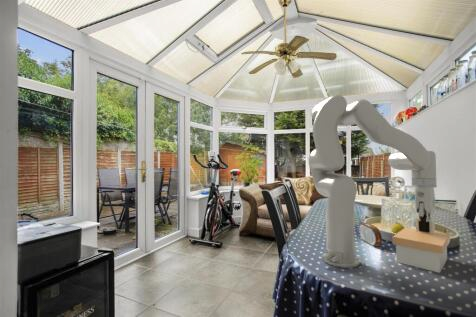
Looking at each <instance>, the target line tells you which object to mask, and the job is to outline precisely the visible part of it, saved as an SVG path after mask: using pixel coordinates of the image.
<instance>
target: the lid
mask: <svg viewBox="0 0 476 317" xmlns="http://www.w3.org/2000/svg"><path fill="white" fill-rule="evenodd" d="M414 220H415V221H414V222H415V228H410V227H404V229H403V230H401V231H400V232H398V233H397V234H395V235H394V236H393V235H392V238H391V239H392V240H391V241H392V242H391V243H392V244H393V245H396V244H397V245H402V246H407V247H412V248H416V249H421V250H426V251H431V252H436V253H440V254H443V252H444V251H445V249H446V247H447V248H448V246H449V244H450V243H451V234H449V233H448V234H447V233H441V232H436V224H435V219H431V220H430V219H428V222H429V226H430V232H429V233H427V232H421V231H419V217H415V219H414Z"/></svg>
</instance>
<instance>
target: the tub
mask: <svg viewBox="0 0 476 317" xmlns="http://www.w3.org/2000/svg"><path fill="white" fill-rule="evenodd" d="M395 253H396V254H395V258H396V262H397V263H399V264H404V265H406V266H407V265H408V266H411V267H415V268H419V269H422V270H425V271H431V272H435V273H439V274H440V273H441V272H442V270H443V268H444V266H445V265H446V262H447V260H448V246H447V247H446V249H445V251H444V252H443V254H440V253H436V252H431V251H426V250H421V249H416V248H412V247H407V246H402V245H397V244H395Z"/></svg>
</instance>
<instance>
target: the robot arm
mask: <svg viewBox="0 0 476 317" xmlns="http://www.w3.org/2000/svg"><path fill="white" fill-rule="evenodd" d="M310 114H311V119H312V120H313V123H312V136H313V142H314V149H313V150H312V151H311V152H310V153H309V156H308V166H309V170H310V173H311V177H312V181H313V184H314V187H315V189H316V191H317V193H319V195H321V196H323V197H325V198H327V202H326V207H325V233H326V234H325V236H326V237H325V238H326V240H325V241H326V243H325V245H326V249H325V250H326V252H324V253H323V254H322V255H321V259H322V261H323V263H326V264H328V265H330V266H333V267H337V268H343V269H344V268H345V269H353V268H357V267H358V266H359V265H361V260H360V259H359V257H357V256H355V255H356V252H355V250H356V248H355V247H356V246H355V244H356V242H355V241H356V240H355V238H356V237H355V204H356V203H355V202H356V197H357V185H356V182H355V181H354V179H353V177H351V176H349V175H347V174H345V173H344V174H343V173H335V172H336V171H340V170H341V169H342V168H343V167H344V165H345V162H346V161H345V156H344V151H343V147H342V145H341V140H340V138H339V132H338V127H340V126H341V127H347V126H348V127H349V126H353V125H356V126H357V127H358V128H359V130H360V131H361V132H362V133H363V134H364V135H365V136H366V137H367V138H368V139H369V140H370V141H371V142H373V143H375V144H378V145H382V146H387V147H389V148H392V149H394V150H396V151H394V152H392V153H390V154H389V156H388V157H387V162H388V165H389V166H390V167H391V168H392V169H395V170H399V171H411V187H413V188H414V208H415V209H414V210H415V213H417V214H418V218H419V231H421V232H427V233H429V232H430V226H429V222H428V219H430V220H432V217H431V216H432V214H434V213H435V212H436V210H437V209H436V196H435V195H436V194H435V188H437V159H436V158H437V155H436V153H435V151H433V150H428V149H426V147H425V146H424V145H423V144H422V143H421V142H420V140H418V139H417V138H415V137H414V136H413V135H412V134H409V133H407V132H405V131H403V130H401V129H398V128H396V127H394V126H393V125H391V124H390V122H389V121H388V120H387V119H386V118H385V117H384V116H383V115H382V114H381V112H380V111H379V110H378V109H377V108H376V107H375V106H374V105H373V104H372V103H371V102H370V101H369V100H366V99H363V98H362V99H356V100H355V101H352V102H350V103H348V102H347V99H346V98H345V97H344V96H343V95H340V94H334V95H331V96H329V97H327V98H325V99H324V100H322V101H320V102H318V103H316V105H314V106H313V107H312V110H311V113H310Z"/></svg>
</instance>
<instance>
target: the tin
mask: <svg viewBox="0 0 476 317" xmlns="http://www.w3.org/2000/svg"><path fill="white" fill-rule="evenodd" d="M358 230H359V236H360V238H361V239H362V241H364V242H365V243H366V244H368V245H370V246H372V247H381V246H382V244H383V237H382V233H381V231H380V229H379V228H378V227H377V226H375V225H373V224H371V223H370V222H367V221H365V222H361V223H359V225H358Z"/></svg>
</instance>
